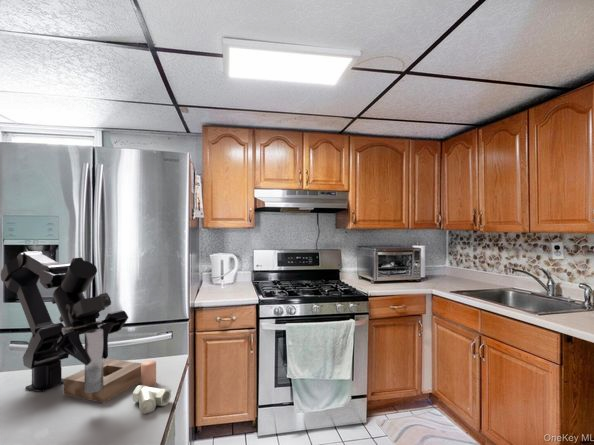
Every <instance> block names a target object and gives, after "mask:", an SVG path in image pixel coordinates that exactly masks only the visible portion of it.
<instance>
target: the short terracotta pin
mask: <svg viewBox="0 0 594 445" xmlns="http://www.w3.org/2000/svg"><path fill="white" fill-rule="evenodd" d="M140 384H141V385H144V386H148V387H154V386H156V385H157V361H156V360H147V361H143V362H142V364H141V381H140Z"/></svg>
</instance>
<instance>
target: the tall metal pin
mask: <svg viewBox="0 0 594 445" xmlns="http://www.w3.org/2000/svg"><path fill="white" fill-rule="evenodd" d="M84 349H85V351H86V353H87V355H88V358H89V364H88V365H85V364H84V369H85V393H94V392H97V391H100V390H101V389H103V361H104V358H103V329H92V330H88V331H86V332H85V333H84Z"/></svg>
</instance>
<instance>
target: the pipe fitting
mask: <svg viewBox="0 0 594 445" xmlns="http://www.w3.org/2000/svg"><path fill="white" fill-rule="evenodd" d="M171 398H172V390H171V389H170V388H159V387H154V386H152V387H148V386H144V385H139V384H138V385H137V386H136V387H135V389H134V390H133V392H132V400H133V402H135V403H138V404H139V411H140V413H142V414H144V415H145V414H149V413H153V412H154V410H155V409H156V407H157V406H159V407H166V406H167V405H168V404H169V403H170V401H171Z"/></svg>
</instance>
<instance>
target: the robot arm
mask: <svg viewBox="0 0 594 445" xmlns="http://www.w3.org/2000/svg"><path fill="white" fill-rule="evenodd" d="M97 273H98V268H97V266H96V265H94V263H92V262H90V261H87V260H84V259H83V257H82V256H81V257H72V259H71V262H57V261H55V260H54V259H53V258H50V257H48V256H47V255H44V253H43V252H42V251H39V250H37V251H36V250H35V251H23V252H20V253H18V255H17V256H16V257H15V258H13V259H11V260H9V261H7V262H6V263H5V264H4V266H3V267H2V269H1V271H0V280H1V281H2V282H4V285H5V287H6V289H7V290H9V291H11V292H13V293H15V294H16V295H17V297H18V300H19V302H20V305H21V307H22V310H23V313H24V316H25V317H26V318H25V319H26V321H27V323H28V324H27V325H28V326H29V328H30V332H31V337H30V340H29V341H28V344H27V348H26V350H25V353H24V354H23V356H22V362H23V366H24V367H26V368H28V369H30V370H31V384H28V385H27V386H25V390H28V391H32V392H33V391H34V392H39V393H43V392H46V391H48V390H51V389H52V388H56V387H57V386H59V385H61V384H64V377H63V376H62V372H63V371H62V369H63V368H62V360H65V359H69V356H71V357H73V358H75V359H76V360H78V361H79V362H81V363H82V364H83V365H84V366H85V365H88V364H89V358H88V355H87V353H86V351H85V346H84V345H83V343H82V341H81V338H80V335H83V334H84V335H85V332H86V331H88V330H92V329H103V360H107V359H108V357H109V356H108V355H109V340H108V338H109V335H110V334H114V333H116V332H117V333H118V332H119V331H121V330H122V329H123V326H124V325H125V323H126V322H127V321H128V319H129V315H128V314H127V312H126V311H125V310H123V309H122V310H118V311H111V312H108V313H107V315H106V316H105V317H104V319H103V320H101V319H100V320H98V321H97V319H99V317H100V312H102V311H104V310H106V308H108V307H109V306H111V305H112V300H111V297H110V295H109V293H108V292H104V293H100V294H99V295H97V296H92V297H87V298H86V296H85V294H84V293H85V292H86V291H88V290H89V287H90V286H91V283H92V282H93V280H94V278H95V276H96V275H97ZM38 283H40V284H41V285H42V287H44V288H45V289H46V290H47V289H48V290H49V289H55V290H54V292H52V300H51V303H52V304H53V305H55V304H56V307H57V309H58V311H59V313H60V316H59V318H58V319H59V322H56V323H54V321H53V319H52V318H51V315H50V312H49V311H48V308H47V306H46V304H45V301H44V299H43V296H42V294H41V291H40V289H39V287H38ZM62 377H63V378H62Z"/></svg>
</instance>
